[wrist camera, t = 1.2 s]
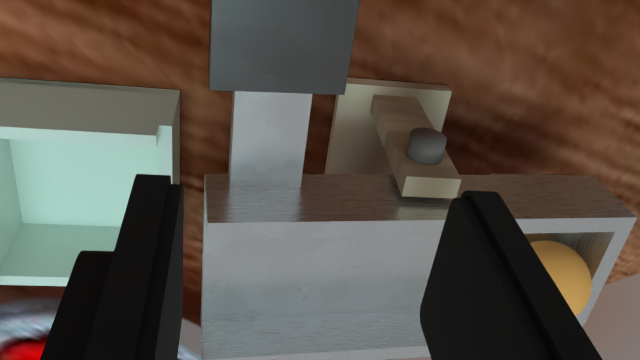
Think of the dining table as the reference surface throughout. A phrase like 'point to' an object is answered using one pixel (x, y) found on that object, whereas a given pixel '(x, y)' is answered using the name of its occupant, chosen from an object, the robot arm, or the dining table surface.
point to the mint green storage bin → (75, 169)
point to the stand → (394, 135)
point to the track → (339, 207)
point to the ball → (566, 272)
